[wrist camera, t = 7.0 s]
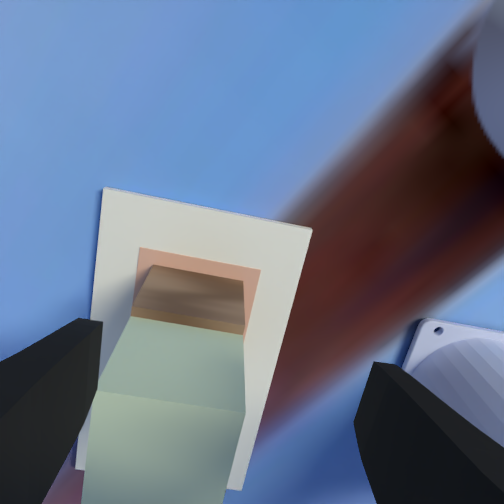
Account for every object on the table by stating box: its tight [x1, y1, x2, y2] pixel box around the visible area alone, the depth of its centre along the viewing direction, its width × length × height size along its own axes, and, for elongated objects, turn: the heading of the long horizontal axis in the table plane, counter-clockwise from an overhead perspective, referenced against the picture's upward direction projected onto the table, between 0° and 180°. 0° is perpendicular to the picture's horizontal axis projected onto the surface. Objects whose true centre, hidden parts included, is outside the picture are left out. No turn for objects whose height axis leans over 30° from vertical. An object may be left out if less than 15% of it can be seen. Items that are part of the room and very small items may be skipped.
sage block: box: [81, 316, 246, 504], centre depth 15 cm, size 4×4×4 cm
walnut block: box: [130, 264, 245, 335], centre depth 19 cm, size 4×4×4 cm
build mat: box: [75, 187, 312, 491], centre depth 22 cm, size 10×17×1 cm, turn 168°
